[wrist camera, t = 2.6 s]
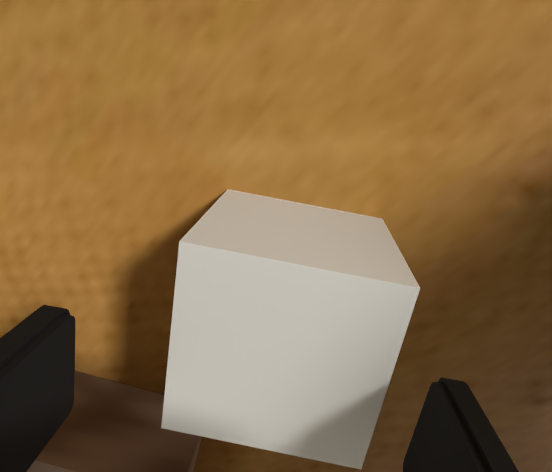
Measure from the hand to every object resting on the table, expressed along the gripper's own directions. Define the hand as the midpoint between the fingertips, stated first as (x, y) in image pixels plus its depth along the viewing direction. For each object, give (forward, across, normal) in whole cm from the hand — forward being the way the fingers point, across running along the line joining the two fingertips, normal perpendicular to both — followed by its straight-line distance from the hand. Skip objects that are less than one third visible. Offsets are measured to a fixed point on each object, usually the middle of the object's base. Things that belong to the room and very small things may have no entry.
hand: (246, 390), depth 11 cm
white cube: (+7, -1, -1) cm, 7 cm away
